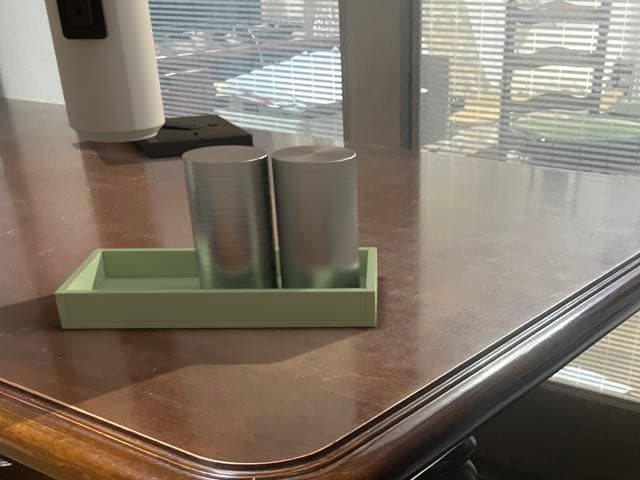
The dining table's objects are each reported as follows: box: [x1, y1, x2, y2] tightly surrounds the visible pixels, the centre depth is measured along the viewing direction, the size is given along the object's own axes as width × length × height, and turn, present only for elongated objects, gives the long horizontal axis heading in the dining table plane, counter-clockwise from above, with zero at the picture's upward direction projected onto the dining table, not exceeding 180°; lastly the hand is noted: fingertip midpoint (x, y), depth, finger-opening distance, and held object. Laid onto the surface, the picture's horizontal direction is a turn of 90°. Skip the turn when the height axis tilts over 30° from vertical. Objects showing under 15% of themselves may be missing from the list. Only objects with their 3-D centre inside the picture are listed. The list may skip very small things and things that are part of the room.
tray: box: [53, 246, 378, 330], centre depth 79 cm, size 27×13×3 cm, turn 91°
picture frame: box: [133, 114, 254, 159], centre depth 141 cm, size 16×3×21 cm
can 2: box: [181, 146, 279, 289], centre depth 76 cm, size 7×7×12 cm
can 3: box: [270, 144, 360, 289], centre depth 76 cm, size 7×7×12 cm
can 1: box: [44, 0, 166, 143], centre depth 68 cm, size 8×8×12 cm
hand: (101, 32), depth 67 cm, fingers closed on can 1, 7 cm apart
